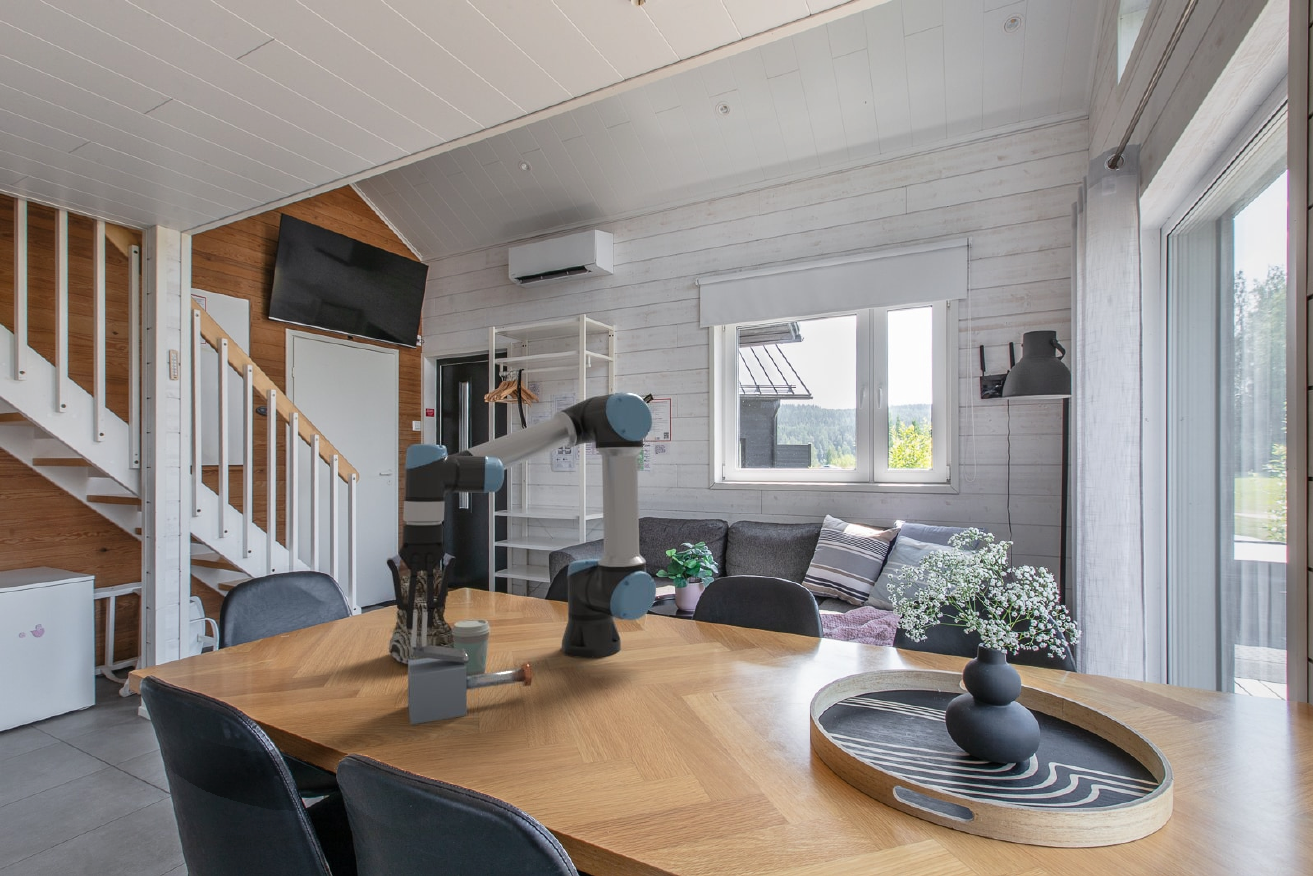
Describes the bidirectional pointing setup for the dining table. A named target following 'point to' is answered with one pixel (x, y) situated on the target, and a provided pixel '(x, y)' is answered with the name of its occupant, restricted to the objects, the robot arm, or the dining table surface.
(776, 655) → the dining table surface
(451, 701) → the block
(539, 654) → the dining table surface
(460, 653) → the keeper plate
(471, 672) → the coffee cup
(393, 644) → the sculpture
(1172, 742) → the dining table surface
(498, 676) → the lynch pin
